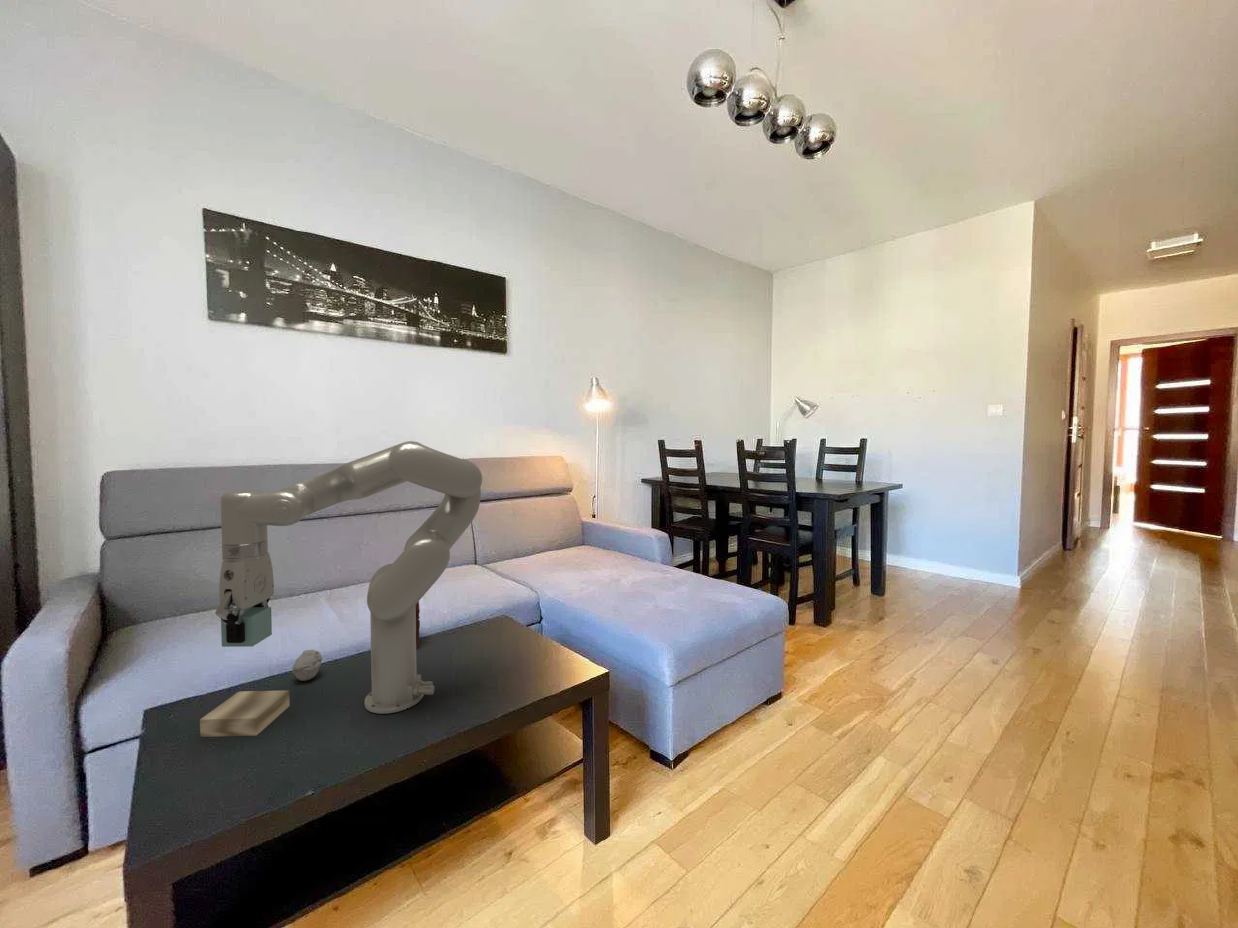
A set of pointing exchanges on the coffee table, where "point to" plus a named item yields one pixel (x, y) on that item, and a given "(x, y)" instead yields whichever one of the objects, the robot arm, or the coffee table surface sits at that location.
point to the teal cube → (251, 627)
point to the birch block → (244, 713)
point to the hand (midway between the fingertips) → (247, 634)
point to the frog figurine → (307, 665)
